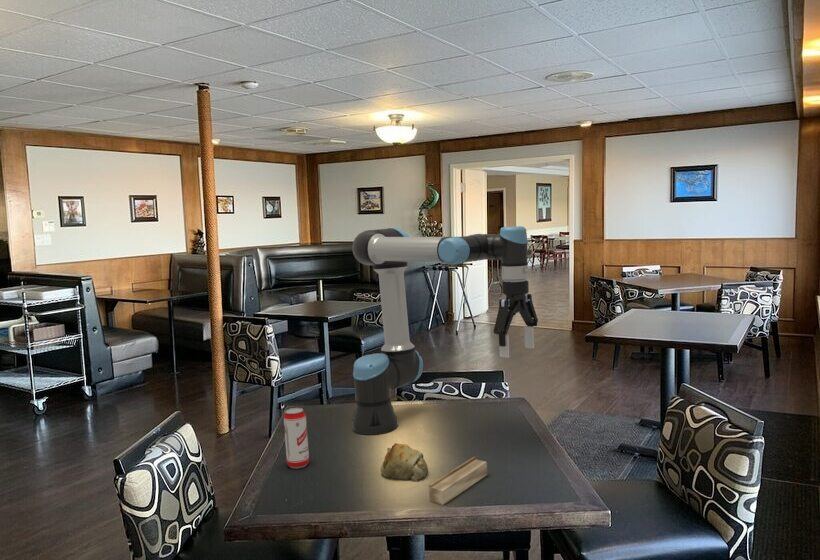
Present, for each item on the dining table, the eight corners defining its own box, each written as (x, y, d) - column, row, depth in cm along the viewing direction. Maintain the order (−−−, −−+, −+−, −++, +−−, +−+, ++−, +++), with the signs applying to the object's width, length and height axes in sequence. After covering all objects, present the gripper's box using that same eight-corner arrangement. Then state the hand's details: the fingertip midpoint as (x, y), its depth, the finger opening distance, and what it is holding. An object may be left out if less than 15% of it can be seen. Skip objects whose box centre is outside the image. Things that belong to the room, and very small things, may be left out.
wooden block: (429, 500, 149) (428, 484, 149) (474, 471, 165) (473, 456, 165) (443, 505, 147) (442, 488, 147) (487, 474, 162) (486, 459, 162)
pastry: (373, 468, 171) (371, 440, 170) (414, 459, 176) (413, 432, 175) (392, 488, 158) (390, 457, 157) (436, 477, 163) (435, 448, 162)
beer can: (313, 461, 178) (309, 407, 176) (302, 470, 172) (298, 414, 170) (294, 460, 180) (290, 406, 178) (283, 468, 174) (278, 413, 172)
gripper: (502, 285, 167) (504, 363, 169) (548, 275, 185) (550, 345, 188) (479, 284, 172) (482, 359, 174) (526, 275, 190) (528, 342, 193)
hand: (517, 352), depth 181 cm, fingers open, 13 cm apart
